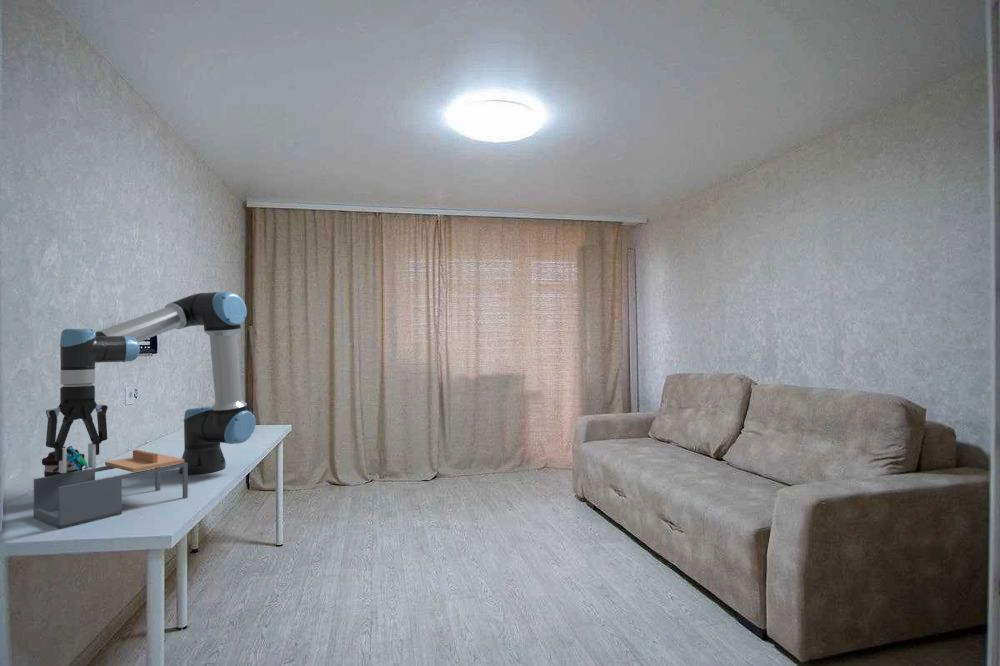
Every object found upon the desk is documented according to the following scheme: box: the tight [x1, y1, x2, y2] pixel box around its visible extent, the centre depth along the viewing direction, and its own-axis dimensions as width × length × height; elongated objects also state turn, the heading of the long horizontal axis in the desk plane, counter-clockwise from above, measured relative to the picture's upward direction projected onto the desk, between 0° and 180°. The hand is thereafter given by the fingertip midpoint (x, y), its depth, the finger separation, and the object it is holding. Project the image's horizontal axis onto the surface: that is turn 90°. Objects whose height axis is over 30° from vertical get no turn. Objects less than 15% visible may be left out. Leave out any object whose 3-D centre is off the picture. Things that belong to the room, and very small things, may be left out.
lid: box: [104, 449, 184, 473], centre depth 165 cm, size 14×17×4 cm
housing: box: [33, 463, 189, 530], centre depth 158 cm, size 32×17×10 cm, turn 148°
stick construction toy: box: [53, 445, 89, 472], centre depth 152 cm, size 12×7×8 cm
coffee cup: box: [41, 448, 86, 477], centre depth 163 cm, size 10×10×15 cm
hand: (77, 469), depth 150 cm, fingers closed on stick construction toy, 6 cm apart
